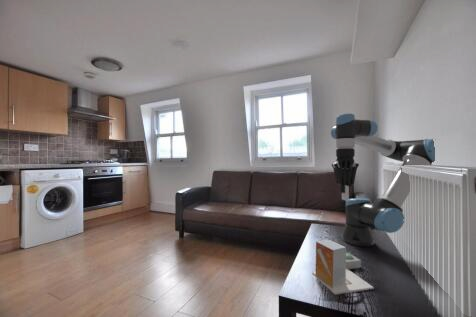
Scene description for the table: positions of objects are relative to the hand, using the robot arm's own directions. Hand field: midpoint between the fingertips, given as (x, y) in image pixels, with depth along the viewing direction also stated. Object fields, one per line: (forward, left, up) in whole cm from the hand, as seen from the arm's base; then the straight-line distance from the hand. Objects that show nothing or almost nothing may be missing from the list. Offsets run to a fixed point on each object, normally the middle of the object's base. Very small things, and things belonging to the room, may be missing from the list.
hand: (345, 199), depth 96 cm
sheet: (+15, +17, -26) cm, 34 cm away
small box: (+20, +17, -25) cm, 36 cm away
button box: (+4, +7, -26) cm, 27 cm away
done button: (+4, +7, -24) cm, 25 cm away
